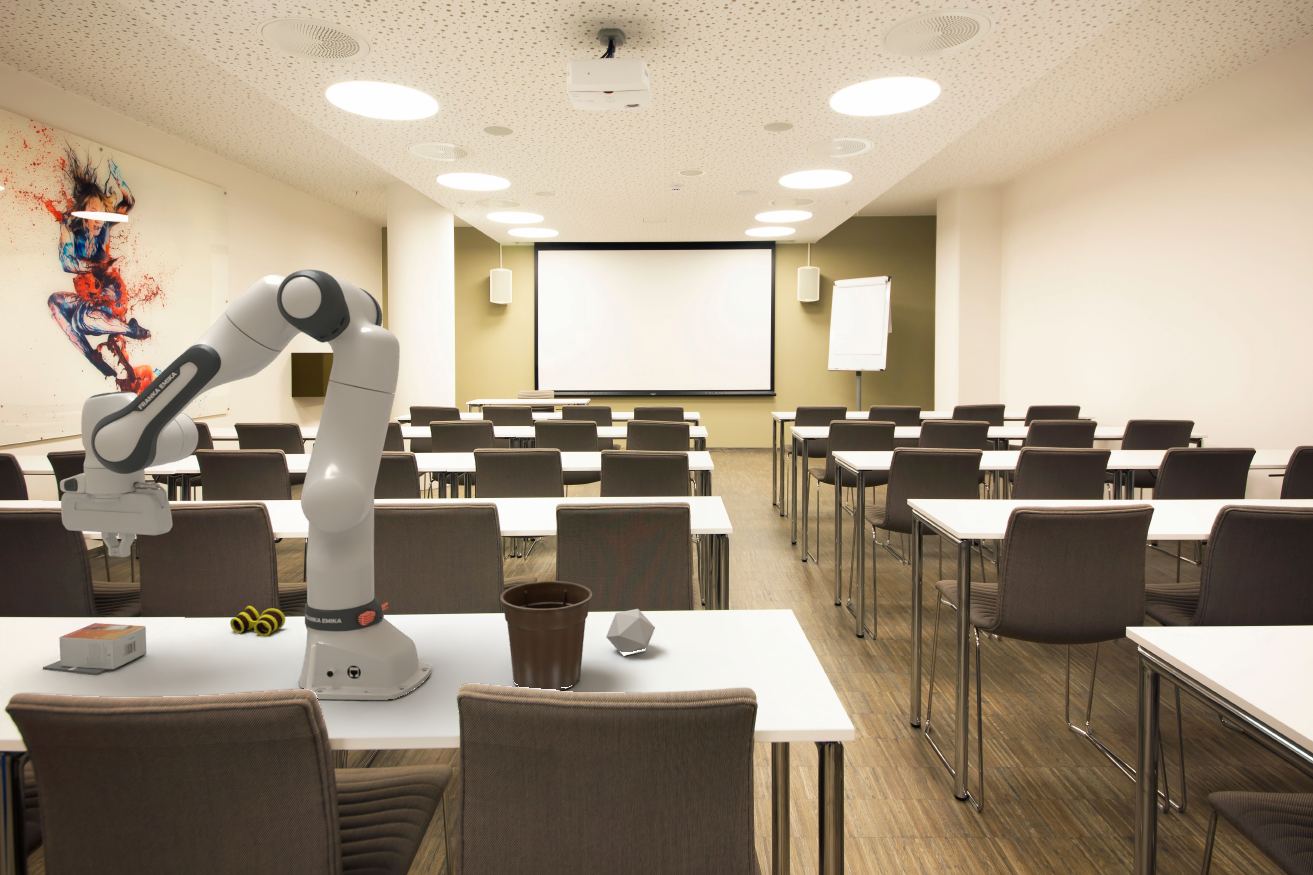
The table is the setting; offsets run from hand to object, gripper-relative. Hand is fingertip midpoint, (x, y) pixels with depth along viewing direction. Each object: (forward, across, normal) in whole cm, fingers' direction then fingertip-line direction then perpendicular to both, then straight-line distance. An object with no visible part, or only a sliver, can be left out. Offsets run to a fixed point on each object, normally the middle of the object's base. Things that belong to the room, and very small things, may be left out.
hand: (119, 556), depth 134 cm
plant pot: (+22, -78, -11) cm, 81 cm away
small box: (+17, -1, -1) cm, 17 cm away
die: (+22, -90, -28) cm, 96 cm away
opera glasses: (+21, -11, -21) cm, 31 cm away
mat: (+20, +6, 0) cm, 22 cm away
